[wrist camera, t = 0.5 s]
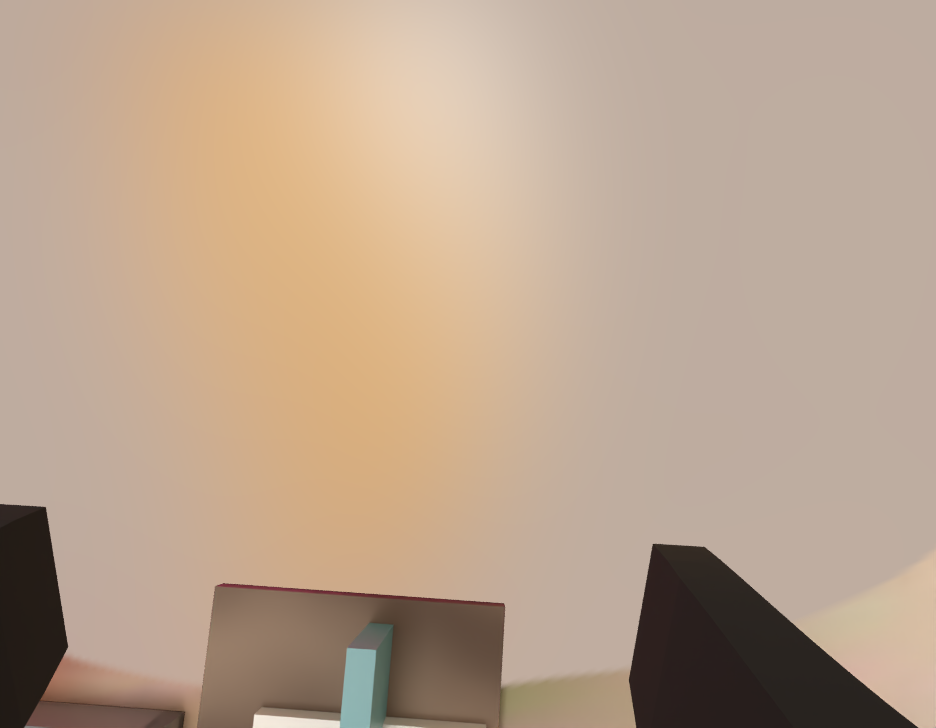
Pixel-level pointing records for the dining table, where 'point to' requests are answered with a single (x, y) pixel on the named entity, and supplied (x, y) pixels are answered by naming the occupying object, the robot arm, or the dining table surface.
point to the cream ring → (357, 692)
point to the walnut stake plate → (325, 647)
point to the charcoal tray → (101, 717)
